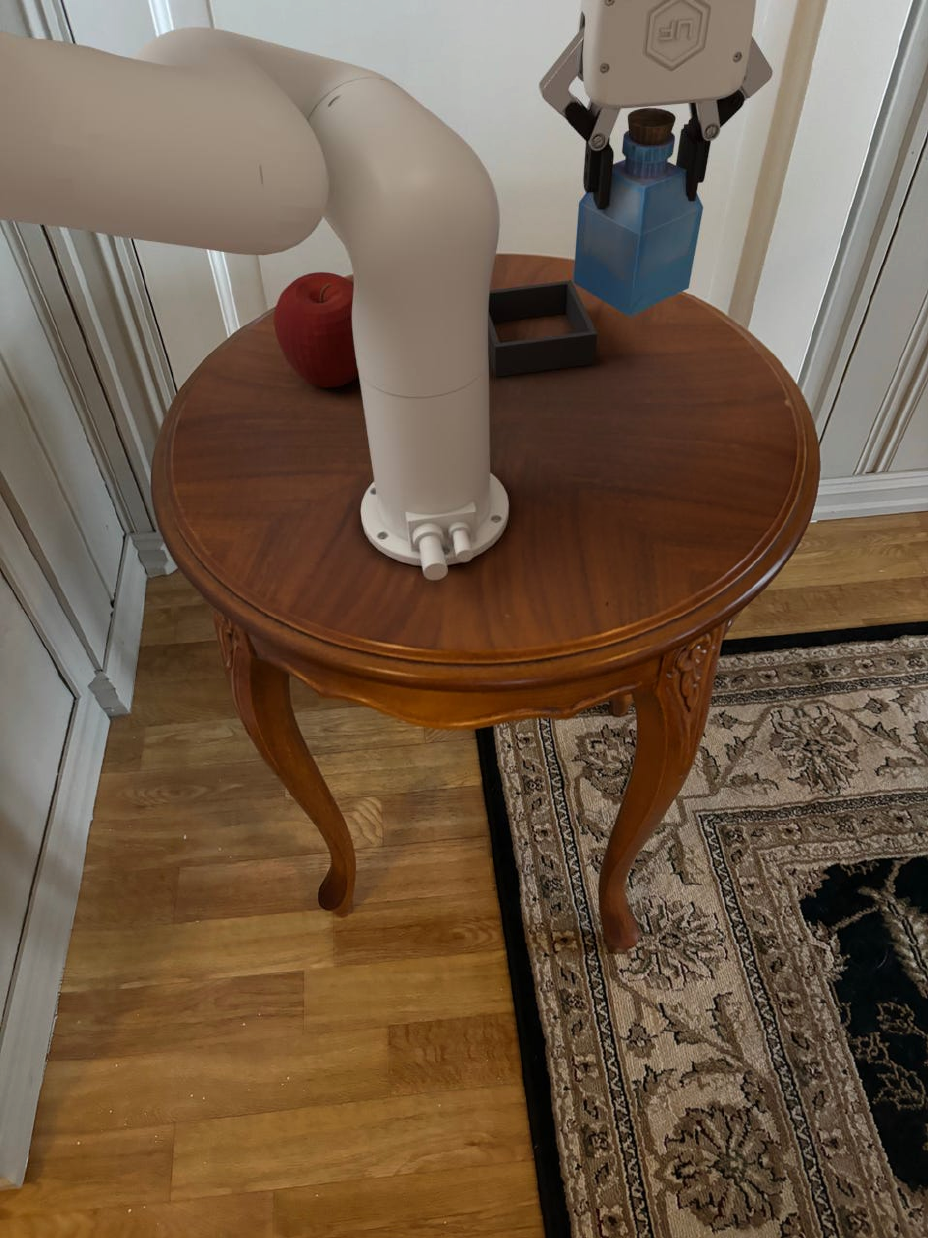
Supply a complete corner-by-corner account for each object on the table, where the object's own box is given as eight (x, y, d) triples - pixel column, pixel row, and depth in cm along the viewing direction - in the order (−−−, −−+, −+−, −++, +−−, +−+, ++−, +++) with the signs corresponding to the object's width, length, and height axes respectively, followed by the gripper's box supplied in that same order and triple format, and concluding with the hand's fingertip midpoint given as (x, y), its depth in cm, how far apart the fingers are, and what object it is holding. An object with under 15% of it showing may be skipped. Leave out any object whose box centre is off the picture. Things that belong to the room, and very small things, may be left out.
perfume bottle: (688, 287, 68) (719, 119, 58) (629, 316, 65) (651, 145, 56) (631, 256, 71) (651, 91, 62) (573, 282, 68) (585, 115, 59)
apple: (300, 415, 86) (280, 322, 78) (276, 362, 91) (255, 271, 84) (393, 390, 88) (382, 297, 80) (363, 340, 93) (351, 249, 86)
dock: (594, 364, 89) (597, 333, 87) (495, 377, 89) (495, 346, 86) (569, 309, 96) (571, 279, 93) (476, 321, 95) (475, 291, 92)
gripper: (540, -106, 46) (530, 233, 60) (860, -129, 47) (777, 211, 61) (516, -138, 51) (513, 183, 65) (807, -158, 52) (742, 163, 66)
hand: (641, 194), depth 63 cm, fingers closed on perfume bottle, 5 cm apart
